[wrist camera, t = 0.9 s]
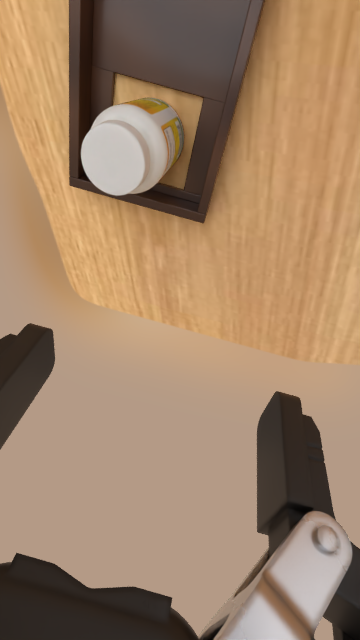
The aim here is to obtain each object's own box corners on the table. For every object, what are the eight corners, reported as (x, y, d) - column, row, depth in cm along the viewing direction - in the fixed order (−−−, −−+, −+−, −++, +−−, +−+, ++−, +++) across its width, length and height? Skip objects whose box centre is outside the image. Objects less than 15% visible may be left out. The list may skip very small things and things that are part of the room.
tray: (87, -142, 19) (68, -166, 17) (288, -87, 19) (292, -105, 17) (81, 178, 30) (69, 185, 28) (207, 213, 30) (203, 223, 28)
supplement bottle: (198, 139, 27) (175, 168, 19) (152, 183, 29) (117, 224, 22) (152, 78, 25) (107, 84, 17) (108, 131, 27) (52, 156, 20)
